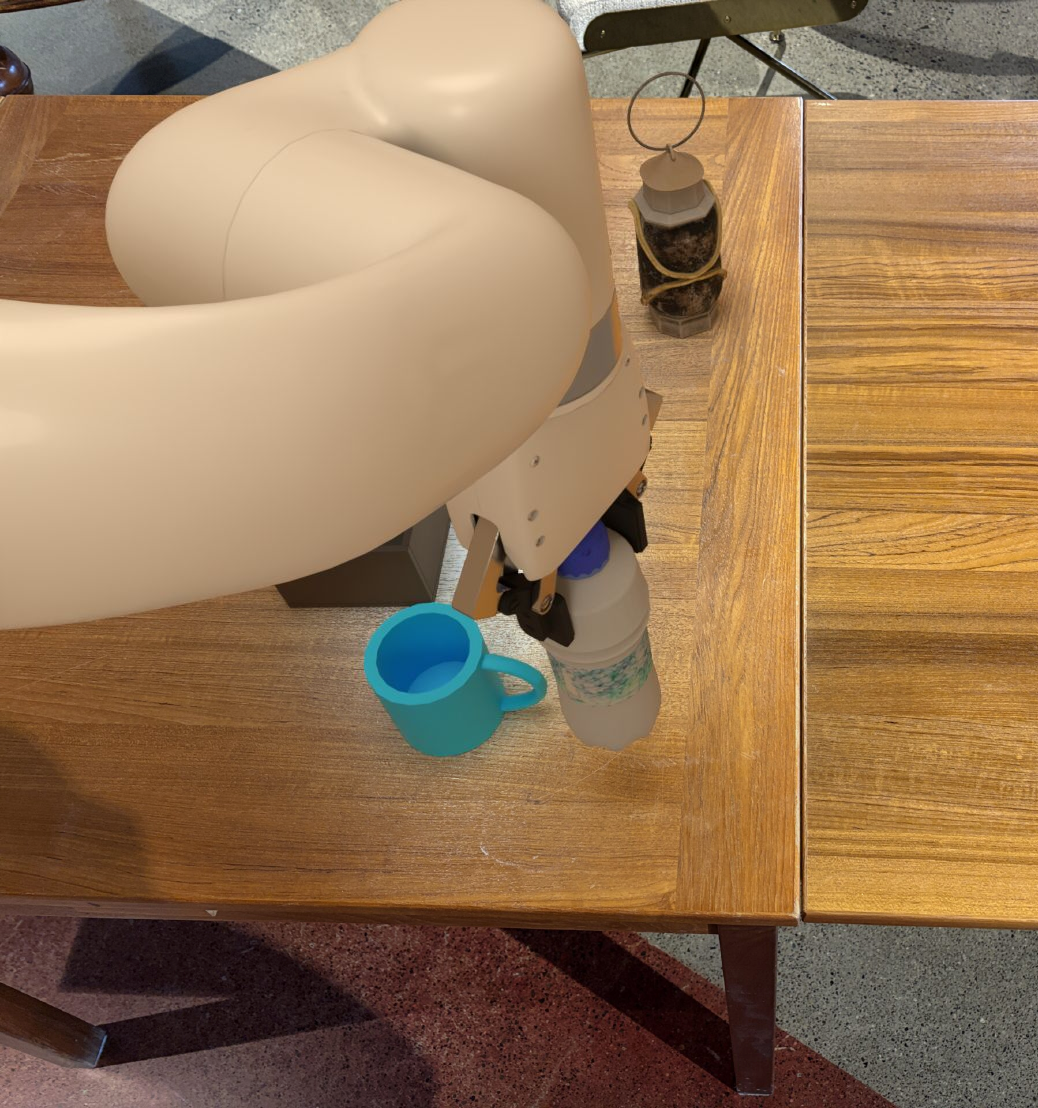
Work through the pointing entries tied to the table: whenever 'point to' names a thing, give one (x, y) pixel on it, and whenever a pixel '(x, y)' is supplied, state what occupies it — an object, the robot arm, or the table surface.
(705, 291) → the lantern
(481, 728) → the mug
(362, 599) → the bin
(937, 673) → the table surface
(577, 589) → the bottle
